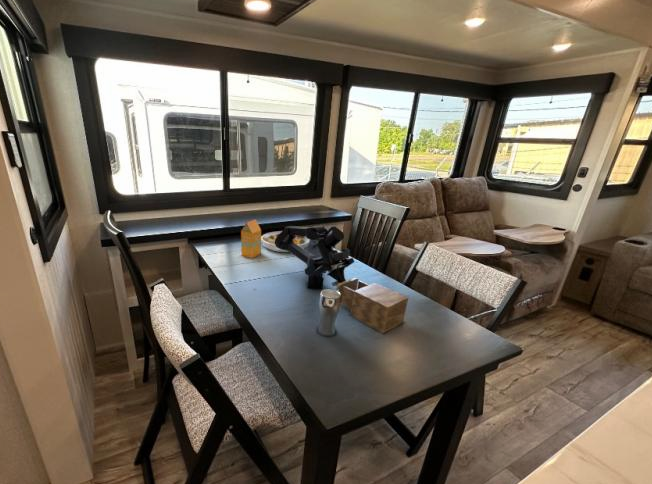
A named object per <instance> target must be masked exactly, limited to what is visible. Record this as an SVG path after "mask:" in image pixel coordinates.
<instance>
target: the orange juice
mask: <svg viewBox="0 0 652 484" xmlns="http://www.w3.org/2000/svg"><path fill="white" fill-rule="evenodd" d="M261 237H262V229H261V227H260V225H259V223H258V221H257V219H256V218H255V219H252V220H249V221H246V222H245V224H244V226H243V227H242V229H241V230H240V244H241V247H240V248H241V256H243V257H246V258H250V259H253V258H256V257H257V256H259V255H261V254H262V242H261Z"/></svg>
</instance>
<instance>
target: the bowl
mask: <svg viewBox="0 0 652 484" xmlns="http://www.w3.org/2000/svg"><path fill="white" fill-rule="evenodd" d="M282 231H283V230H281V231H280V230H278V231H271V232H267V233H265V234H262V235H261V245H262V246H263V247H264V248H266V249H268V250H271V251H274V252H277V253H279V252H280V253H290V252H289V251H287V250H281V249H279V248H277V247H276V245H275V239H276V238H277V236H278V235H279V234H280V233H281V232H282ZM293 240H294V243H295V244H297V245H298V246H300V247H301V248H303V249H304V250H305V249H306V248H307V247H308V246H309V244H310V241H311V240H310V239H307V238H306V237H305V236H297V235H294V239H293Z"/></svg>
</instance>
